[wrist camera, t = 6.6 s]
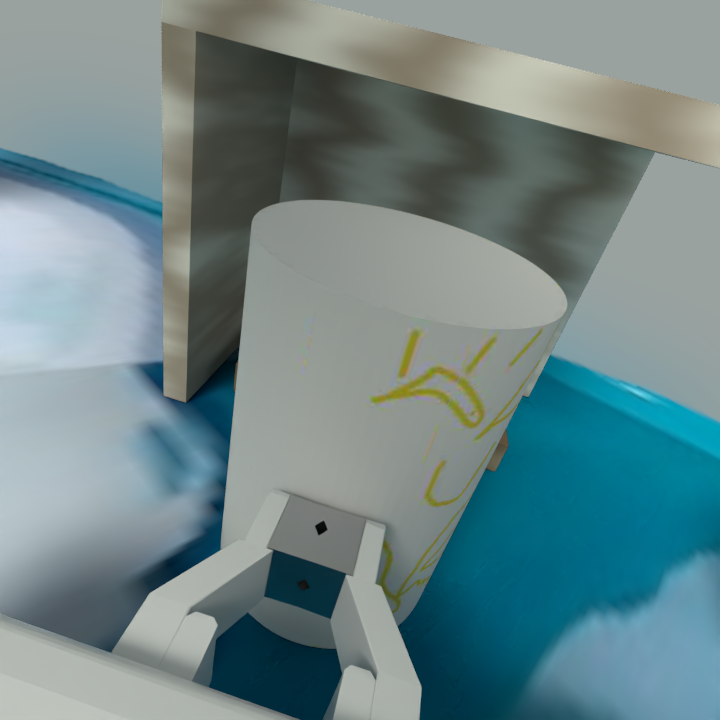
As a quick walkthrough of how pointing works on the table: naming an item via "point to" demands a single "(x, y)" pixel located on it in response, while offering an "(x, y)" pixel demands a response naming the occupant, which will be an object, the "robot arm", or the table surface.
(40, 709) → the robot arm
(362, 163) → the marbled side table
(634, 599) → the table surface
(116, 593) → the table surface
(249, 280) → the cup
